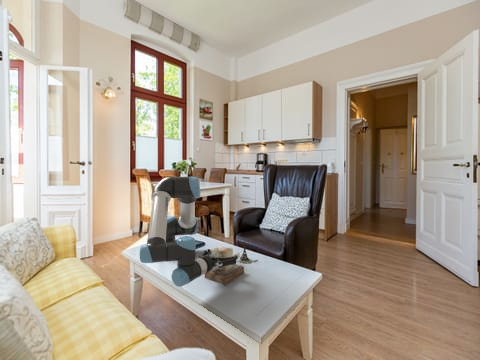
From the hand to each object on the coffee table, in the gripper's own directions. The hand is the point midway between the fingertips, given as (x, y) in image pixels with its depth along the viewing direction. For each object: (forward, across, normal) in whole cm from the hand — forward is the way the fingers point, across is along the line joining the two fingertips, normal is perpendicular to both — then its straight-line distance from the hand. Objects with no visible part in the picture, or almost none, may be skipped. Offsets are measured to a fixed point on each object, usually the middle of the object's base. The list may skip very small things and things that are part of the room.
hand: (228, 251), depth 127 cm
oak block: (-3, 0, -8) cm, 8 cm away
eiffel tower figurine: (+20, -2, -12) cm, 24 cm away
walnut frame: (-3, 0, -12) cm, 12 cm away
